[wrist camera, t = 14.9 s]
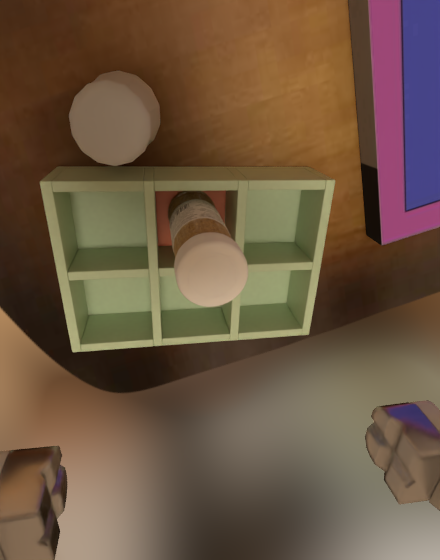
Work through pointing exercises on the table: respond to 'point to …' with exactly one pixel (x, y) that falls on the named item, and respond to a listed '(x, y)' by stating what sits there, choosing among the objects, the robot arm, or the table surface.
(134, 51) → the table surface
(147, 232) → the rack
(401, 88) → the book
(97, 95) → the salt shaker
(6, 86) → the table surface
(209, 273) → the sprinkles bottle
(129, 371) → the table surface
